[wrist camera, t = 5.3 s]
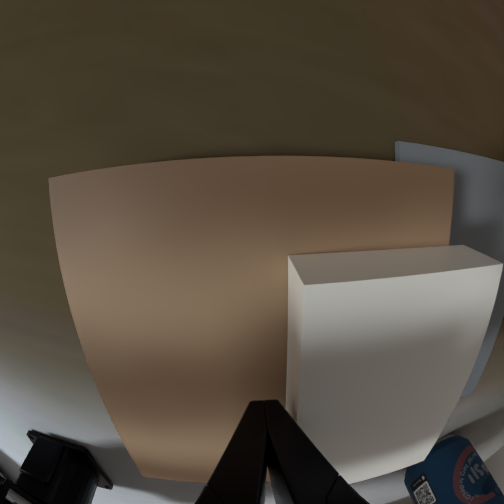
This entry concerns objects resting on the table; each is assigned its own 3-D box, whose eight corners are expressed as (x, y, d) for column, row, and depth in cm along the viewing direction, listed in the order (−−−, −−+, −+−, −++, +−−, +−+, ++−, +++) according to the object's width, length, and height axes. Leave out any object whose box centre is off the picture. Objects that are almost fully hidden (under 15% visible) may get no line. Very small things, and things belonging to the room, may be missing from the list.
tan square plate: (357, 414, 15) (378, 463, 11) (156, 424, 15) (142, 476, 11) (395, 164, 11) (454, 168, 7) (104, 172, 11) (48, 178, 7)
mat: (469, 390, 15) (472, 393, 15) (354, 424, 15) (356, 429, 15) (522, 168, 11) (526, 168, 11) (394, 141, 11) (399, 141, 10)
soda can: (475, 424, 17) (529, 506, 6) (435, 468, 19) (474, 547, 8) (428, 435, 17) (485, 542, 5) (386, 480, 18) (421, 576, 7)
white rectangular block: (407, 431, 10) (423, 460, 8) (282, 457, 10) (288, 494, 8) (463, 244, 8) (503, 263, 6) (287, 255, 8) (303, 285, 6)
